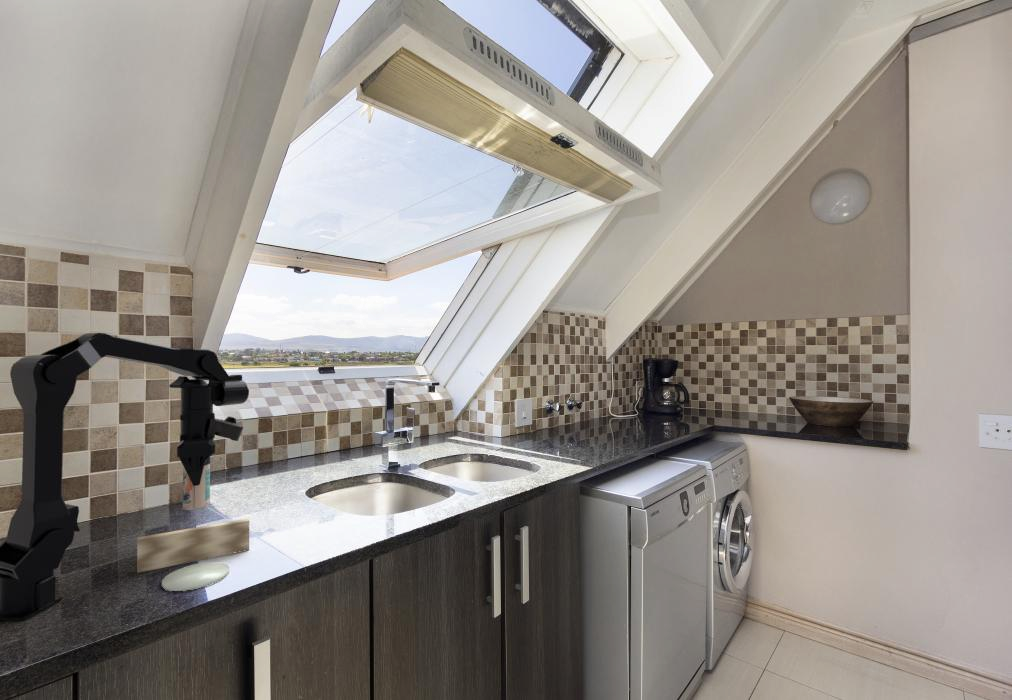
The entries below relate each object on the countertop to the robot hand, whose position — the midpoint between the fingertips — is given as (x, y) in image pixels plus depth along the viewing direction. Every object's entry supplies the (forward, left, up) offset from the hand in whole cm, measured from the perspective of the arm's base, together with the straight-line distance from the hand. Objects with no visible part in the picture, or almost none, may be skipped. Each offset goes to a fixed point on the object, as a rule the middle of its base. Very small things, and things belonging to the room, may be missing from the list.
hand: (196, 482), depth 99 cm
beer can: (0, 0, -6) cm, 6 cm away
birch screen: (+5, -7, -13) cm, 16 cm away
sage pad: (+10, -15, -13) cm, 22 cm away
